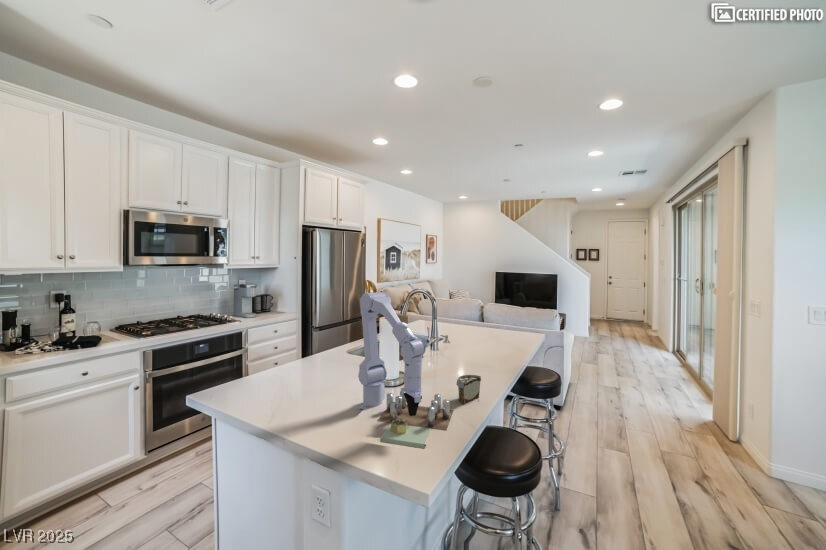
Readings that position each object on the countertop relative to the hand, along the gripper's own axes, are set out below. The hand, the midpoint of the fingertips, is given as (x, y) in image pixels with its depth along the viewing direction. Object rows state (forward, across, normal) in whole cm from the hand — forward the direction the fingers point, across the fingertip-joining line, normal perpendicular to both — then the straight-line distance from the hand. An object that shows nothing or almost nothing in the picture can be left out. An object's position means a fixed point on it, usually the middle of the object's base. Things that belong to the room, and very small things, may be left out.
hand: (412, 414), depth 119 cm
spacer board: (+4, -5, +3) cm, 7 cm away
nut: (+2, +4, -5) cm, 7 cm away
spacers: (+3, -5, +3) cm, 6 cm away
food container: (+4, -15, +26) cm, 30 cm away
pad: (+4, +7, -4) cm, 9 cm away
